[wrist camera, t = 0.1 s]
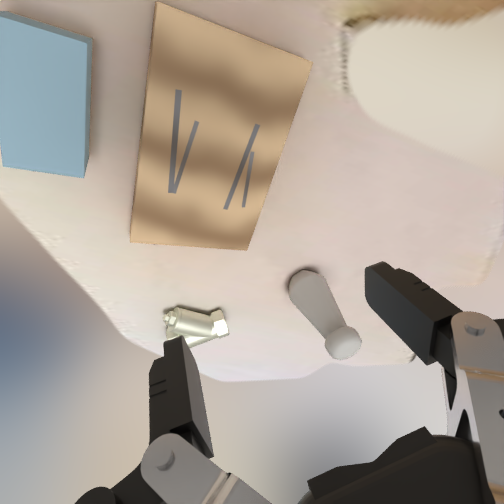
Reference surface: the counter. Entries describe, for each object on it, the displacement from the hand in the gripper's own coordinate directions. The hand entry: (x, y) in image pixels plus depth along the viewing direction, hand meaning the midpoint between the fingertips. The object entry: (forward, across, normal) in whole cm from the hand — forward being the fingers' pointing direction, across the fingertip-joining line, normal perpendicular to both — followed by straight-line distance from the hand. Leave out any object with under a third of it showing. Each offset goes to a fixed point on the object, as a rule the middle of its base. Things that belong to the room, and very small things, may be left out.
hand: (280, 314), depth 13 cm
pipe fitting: (+26, +7, +20) cm, 33 cm away
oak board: (+22, -1, -2) cm, 22 cm away
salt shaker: (+26, -10, +21) cm, 34 cm away
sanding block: (+21, +9, -10) cm, 25 cm away
